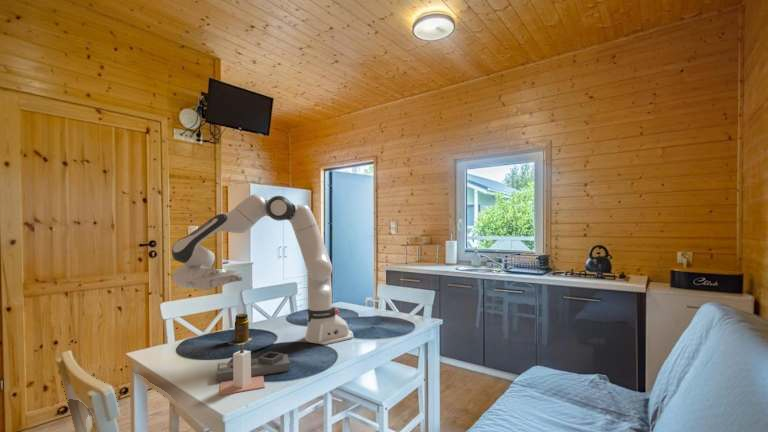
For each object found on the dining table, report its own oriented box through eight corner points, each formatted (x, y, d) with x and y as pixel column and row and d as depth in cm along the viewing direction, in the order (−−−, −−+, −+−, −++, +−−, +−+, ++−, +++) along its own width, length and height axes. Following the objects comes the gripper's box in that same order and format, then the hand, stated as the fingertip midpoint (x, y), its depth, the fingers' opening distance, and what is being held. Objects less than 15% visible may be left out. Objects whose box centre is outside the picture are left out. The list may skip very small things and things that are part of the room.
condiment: (252, 338, 172) (252, 313, 171) (242, 345, 163) (242, 318, 163) (238, 338, 173) (238, 312, 173) (227, 344, 164) (227, 317, 164)
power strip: (287, 361, 145) (287, 348, 145) (289, 370, 136) (289, 357, 136) (218, 371, 136) (218, 358, 136) (216, 382, 127) (216, 368, 127)
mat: (263, 376, 132) (263, 375, 132) (264, 387, 123) (264, 386, 123) (221, 383, 127) (221, 382, 127) (219, 395, 118) (219, 394, 118)
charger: (242, 381, 128) (241, 341, 127) (251, 382, 126) (250, 342, 126) (233, 386, 124) (232, 345, 124) (242, 388, 122) (242, 346, 122)
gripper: (184, 275, 141) (211, 277, 136) (225, 267, 160) (250, 269, 155) (184, 291, 141) (211, 294, 136) (225, 282, 160) (250, 284, 155)
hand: (232, 281), depth 146 cm, fingers open, 8 cm apart
